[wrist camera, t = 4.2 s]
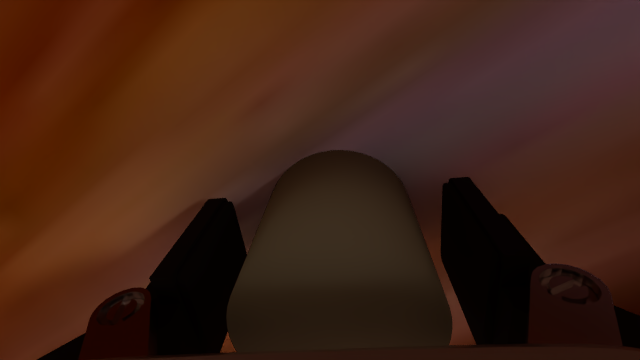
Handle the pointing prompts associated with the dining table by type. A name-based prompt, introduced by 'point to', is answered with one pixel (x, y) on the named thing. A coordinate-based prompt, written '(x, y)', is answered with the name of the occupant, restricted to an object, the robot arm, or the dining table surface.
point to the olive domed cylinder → (338, 264)
